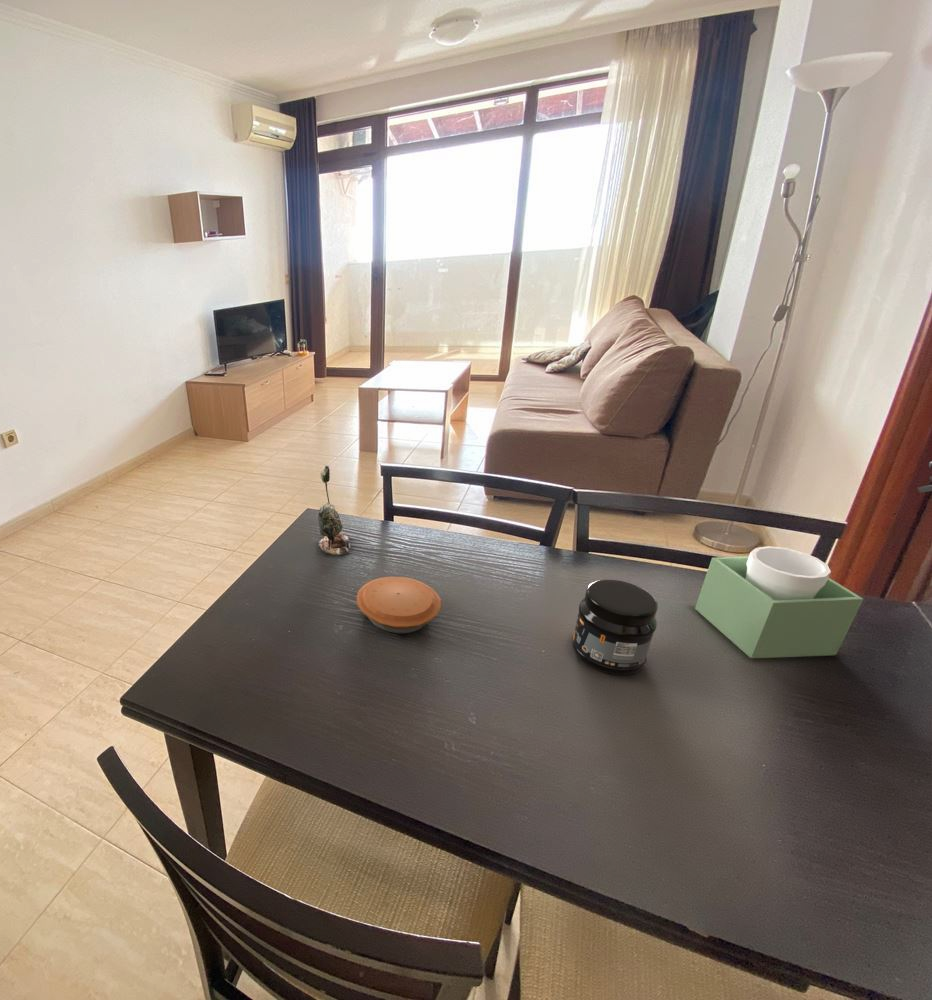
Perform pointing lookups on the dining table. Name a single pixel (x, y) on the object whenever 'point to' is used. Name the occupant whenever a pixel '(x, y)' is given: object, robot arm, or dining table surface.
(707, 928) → the dining table surface
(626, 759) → the dining table surface
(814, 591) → the foam cup
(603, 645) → the supplement container
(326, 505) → the plant with pod
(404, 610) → the pie
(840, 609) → the open green box
